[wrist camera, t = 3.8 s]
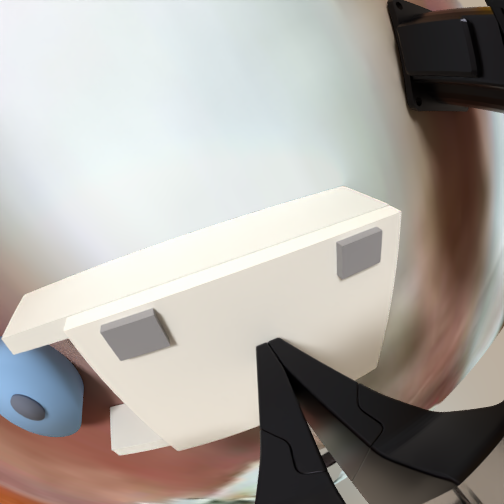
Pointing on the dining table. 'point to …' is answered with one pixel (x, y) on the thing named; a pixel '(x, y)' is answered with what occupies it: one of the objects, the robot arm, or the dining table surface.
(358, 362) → the cover
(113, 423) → the white channel bracket
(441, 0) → the dining table surface
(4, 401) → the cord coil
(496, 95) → the robot arm
